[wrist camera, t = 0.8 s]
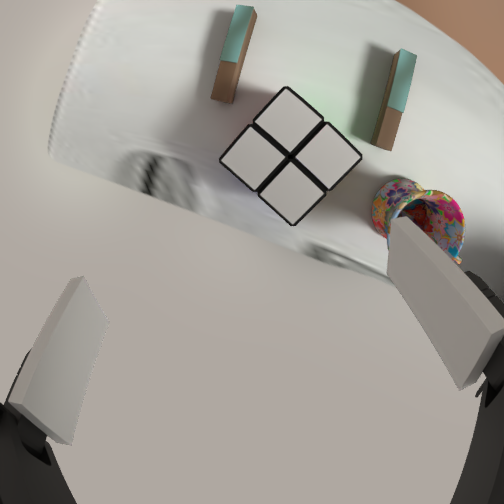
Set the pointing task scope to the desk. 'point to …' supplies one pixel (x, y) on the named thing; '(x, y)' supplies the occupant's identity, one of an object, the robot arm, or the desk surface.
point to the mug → (421, 214)
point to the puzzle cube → (290, 156)
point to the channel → (237, 51)
